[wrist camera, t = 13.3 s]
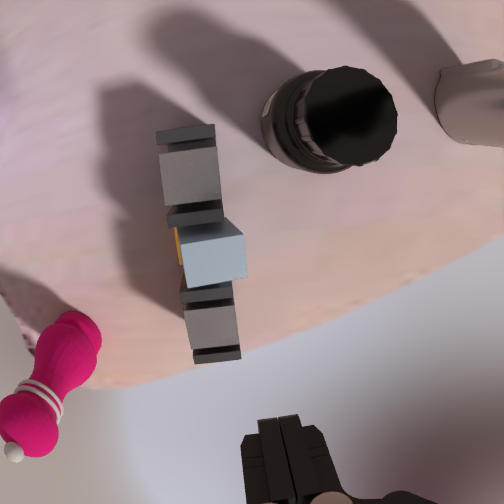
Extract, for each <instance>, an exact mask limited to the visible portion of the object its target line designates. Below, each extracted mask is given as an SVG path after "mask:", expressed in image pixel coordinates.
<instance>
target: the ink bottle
mask: <svg viewBox="0 0 504 504" xmlns="http://www.w3.org/2000/svg"><path fill="white" fill-rule="evenodd" d="M392 98H393V97H392V95H391V94H390V93H389V92H388V90H387V89H386V88H385V86H384V85H383V84H382V82H381V80H379V79H378V78H376V77H374V76H373V75H371V74H370V73H368V72H367V71H366V70H364V69H358V68H353V67H349V66H342V67H339V68H334V69H328V70H326V71H325V70H314V71H308V72H304V73H301V74H299V75H296V76H294V77H293V78H291V79H290V80H288V81H287V82H286V83H284V84H283V85H282V86H281V87H280V88H279V89H278V90H277V91H276V92H274V93H273V94H272V95H271V97H270V98H269V99H268V101H267V102H266V104H265V106H264V109H263V112H262V118H261V128H262V134H263V137H264V140H265V143H266V145H267V146H268V148H269V150H270V151H271V153H272V154H273V155H274V156H275V157H276V158H277V159H278V160H279V161H281V162H282V163H284V164H285V165H287V166H290V167H292V168H296V169H300V170H304V171H308V172H311V173H317V174H332V173H337V172H341V171H344V170H346V169H348V168H350V167H352V166H363V165H365V164H368V163H371V162H373V161H374V162H375V161H377V160H379V158H380V157H381V156H382V155H383V154H384V153H385V152H386V151H388V150H389V149H390V147H391V144H392V142H393V139H394V137H395V135H396V133H397V116H398V114H397V111H396V108H395V105H394V102H393V99H392Z"/></svg>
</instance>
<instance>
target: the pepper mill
mask: <svg viewBox="0 0 504 504" xmlns="http://www.w3.org/2000/svg"><path fill="white" fill-rule="evenodd" d="M101 343H102V338H101V333H100V331H99V329H98V327H97V326H96V324H95V323H94V322H93V321H92V320H91V319H90V318H89V317H87V316H85V315H83V314H81V313H78V312H67V313H64V314H62V315H61V316H60V317H59V318H58V320H57V321H56V322H55V323H54V324H53V325H50V326H49V327H47V328H46V329H45V330H44V331H43V332H42V334H41V335H40V337H39V339H38V341H37V345H36V350H35V364H34V370H33V373H32V375H31V377H30V378H29V379H27V380H23V381H21V382H20V383H19V385H18V387H17V388H16V389H15V391H14V394H12V395H9V396H7V397H5V398H4V399H3V400H2V401H1V402H0V435H1V437H2V438H3V440H4V441H5V442H6V443H7V444H6V445H5V447H4V452H5V455H6V456H7V458H8V459H9V460H11V461H13V462H20V461H21V460H22V459H23V457H24V455H25V456H29V457H42V456H45V455H47V454H48V453H50V452H51V451H52V450H53V448H54V447H55V445H56V443H57V441H58V427H57V424H58V423H59V422H60V418H61V416H62V415H63V405H62V402H63V399H64V397H65V396H66V394H67V393H68V392H69V391H71V390H72V389H74V388H76V387H78V386H80V385H82V384H83V383H84V382H85V381H86V380H87V379H88V378H90V376H91V374H92V373H93V371H94V370H95V367H96V363H97V356H96V355H97V353H98V351H99V349H100V347H101Z"/></svg>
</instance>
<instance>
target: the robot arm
mask: <svg viewBox="0 0 504 504" xmlns="http://www.w3.org/2000/svg"><path fill="white" fill-rule="evenodd" d="M440 72H441V79H440V81H439V83H438V85H437V88H436V93H435V105H436V111H437V115H438V118H439V121H440V123H441V125H442V127H443V128H444V130H445V131H446V133H447V134H448V135H449V136H450V137H451V138H452V139H453V140H455V141H457V142H459V143H462V144H470V145H482V146H492V147H502V148H504V62H502V61H500V60H497V59H488V60H483V61H478V62H473V63H468V64H463V65H459V66H454V67H450V68H446V69H442V70H440ZM258 431H259V434H250V435H245V436H244V439H243V441H242V444H241V446H240V447H241V456H242V465H243V475H244V483H245V493H246V502H247V504H437V503H435V502H432V501H430V500H427V499H424V498H422V497H420V496H417V495H415V494H412V493H410V492H406V491H395V492H391V493H389V494H388V495H386V496H385V497H384V498H383V499H357V498H354V497H352V496H350V495H348V494H347V493H346V492H345V491H344V490H343V489H342V487H341V484H340V481H339V478H338V475H337V473H336V470H335V467H334V464H333V461H332V459H331V456H330V453H329V450H328V447H327V445H326V442H325V439H324V436H323V434H322V433H321V432H320V431H319V430H318V429H317V428H316V427H315V426H314V425H310V426H304V427H302V426H301V422H300V419H299V416H298V414H295V415H289V416H282V417H278V419H277V418H269V419H261V420H258Z"/></svg>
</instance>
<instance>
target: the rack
mask: <svg viewBox="0 0 504 504" xmlns="http://www.w3.org/2000/svg"><path fill="white" fill-rule="evenodd" d="M156 136H157V145H168V146H169V153H164V154H158V155H159V163H160V172H161V180H162V187H163V195H164V202H165V206H169V205H174V206H173V207H172V208H171V210H170V211H169V213H168V214H167V223H168V228H173V227H174V233H175V240H176V246H177V252H178V258H179V264H180V265H183V264H182V259H181V253H180V247H179V241H178V234H177V228H176V227H181V226H189V225H197V224H205V223H214V222H222V221H224V212H223V204H222V194H221V184H220V175H219V165H218V155H217V147H216V140H215V139H216V135H215V125H214V124H209V125H200V126H192V127H185V128H178V129H171V130H164V131H158V132H156ZM180 298H181V303H184V309H183V313H184V318H185V323H186V327H187V332H188V337H189V341H190V346H191V349H193V359H194V363H195V364H204V363H213V362H223V361H231V360H239V359H241V351H240V344H239V336H238V329H237V321H236V313H235V305H234V298H233V289H232V282H231V281H225V282H220V283H215V284H209V285H204V286H198V287H192V288H188V287H187V283H186V278H185V274H183V279H182V283H181V288H180Z"/></svg>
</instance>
